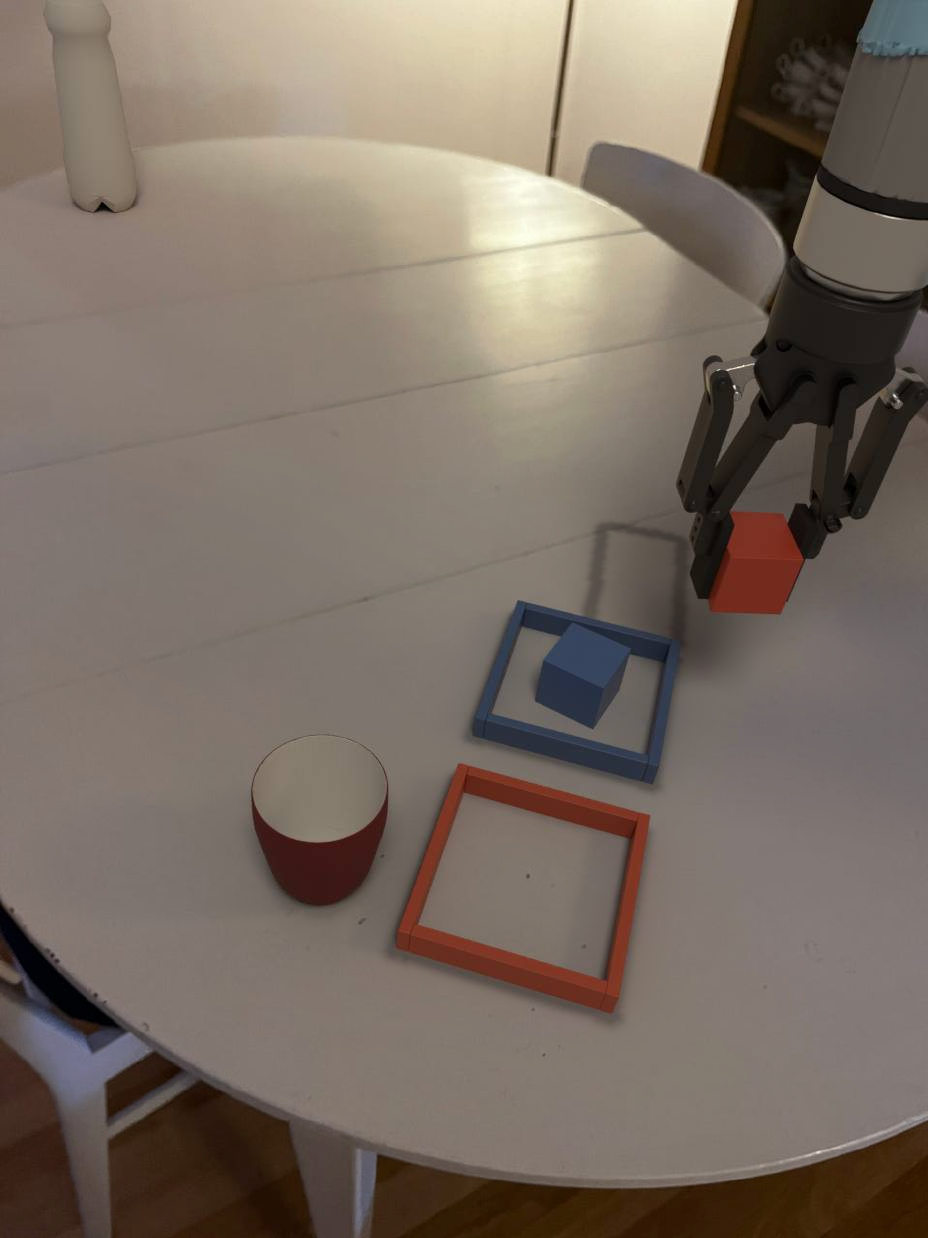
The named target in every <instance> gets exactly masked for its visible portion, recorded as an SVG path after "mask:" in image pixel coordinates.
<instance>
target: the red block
mask: <svg viewBox="0 0 928 1238" xmlns="http://www.w3.org/2000/svg"><path fill="white" fill-rule="evenodd" d="M729 512H730V514H731V517H732V519H733V522H734V524H735V526H734V529H733V532H732V534H731V537H730V540H729V543H728V546H727V547H726V550H725V553H724V556H723V559H722V562H721V564H720V567H719V570H718V573H717V576H716V579H715V581H714V584H713V587H712V590H711V593H710V596H709V598H708V599H706V602H707V604H708V608H709V611H710V613H721V614H722V613H723V614H724V613H725V614H752V615H782V612H783V610H784V607H785V605H786V603H787V602H786V601H787V598H788V596H789V594H790V591H791V589H792V587H793V584H794V582H795V580H796V577H797V575H798V573H799V570H800V568H801V566H802V563H803V561H804V559H803V557H802V555H801V552H800V550H799V549H798V546H797V544H796V542H795V540H794V538H793V535H792V533H791V531H790V529H789V527H788V521H787V519H786V517H785V515H784V513H783V512H763V511H741V510H739V511H738V510H730V511H729Z"/></svg>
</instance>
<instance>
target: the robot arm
mask: <svg viewBox="0 0 928 1238" xmlns="http://www.w3.org/2000/svg"><path fill="white" fill-rule="evenodd" d="M856 43H857V46H856V48H855V53H854V55H853V59H852V62H851V65H850V69H849V72H848V75H847V77H846V78H847V79H846V81H845V85H844V88H843V91H842V95H841V97H840V101H839V104H838V107H837V110H836V113H835V118H834V120H833V122H832V126H831V130H830V132H829V136H828V139H827V143H826V145H825V149H824V152H823V155H822V159H821V160H820V163H819V167H818V170H817V173H816V174H815V176H814V178H813V182H812V185H811V188H810V192H809V195H808V198H807V201H806V204H805V207H804V210H803V213H802V217H801V219H800V222H799V225H798V228H797V231H796V234H795V238H794V241H793V247H792V249H793V251H794V253H795V254H794V255H793V256H792V257H790V258H789V259H788V260H787V261H786V265H785V266H784V271H783V273H782V276H781V279H780V283H779V286H778V288H777V292H776V294H775V298H774V301H773V304H772V307H771V309H770V313H769V317H768V322H767V327H766V331H765V333H764V334H763V336H762V337H761V339H760V340H759V341H758V342H757V343H756V344H755V345H754V346H753V347H752V349H751V351H750V353H749V355H747V356H744V357H743V356H742V357H739V358H735V359H730V360H726V361H724V360H723V358H722V357H721V356H720V355H717V354H716V355H715V354H713V355H710V356H708V357H706V358H705V359H704V361H703V362H702V373H703V374H702V377H703V387H704V391H703V395H702V398H701V401H700V403H699V407H698V410H697V413H696V417H695V420H694V423H693V426H692V430H691V433H690V436H689V440H688V442H687V447H686V449H685V453H684V455H683V459H682V463H681V465H680V468H679V471H678V475H677V478H676V481H675V488H676V490H677V493H678V495H679V496H678V497H679V498H680V501H681V503H682V508H683V509H684V512H686V513H690V514H693V513H695V517H694V519H693V523H692V525H691V529H690V533H689V536H688V538H689V543H690V545H691V548H692V551H693V554H694V558H693V561H692V564H691V567H690V569H689V576H690V580H691V583H692V586H693V588H694V592H695V595H696V598H697V600H707V599H708V598H709V596H710V593H711V590H712V587H713V584H714V581H715V579H716V576H717V573H718V570H719V567H720V564H721V562H722V559H723V556H724V553H725V550H726V547H727V546H728V543H729V540H730V537H731V534H732V532H733V529H734V526H735V524H734V522H733V519H732V517H731V514H730V512H729V511H732V508H733V507H734V505H735V504H736V502H737V501H738V500H739V498H740V497H741V495H742V493H743V492H744V491H745V489H746V488H747V486H748V484H749V483H750V481H751V480H752V478H753V477H754V476H755V474H756V472H757V471H758V469H759V468H760V466H761V465H762V463H763V462H764V460H765V459H766V457H767V456H768V455H769V454H770V452H771V450H772V448H773V447H774V446H775V444H776V443H777V442H778V441H782V440H783V439H785V437H786V436H787V434H788V433H789V431H790V430H791V429H792V427H793V425H800V424H806V423H810V424H814V425H816V427H815V438H814V446H813V448H814V449H813V457H812V467H811V478H810V486H809V497H808V500H809V503H810V505H809V506H808V503H805V502H804V503H802V502H795V503H794V506H793V509H792V511H791V514H790V516H789V518H788V521H787V524H788V527H789V529H790V531H791V533H792V535H793V538H794V540H795V542H796V544H797V546H798V549H799V550H800V552H801V555H802V557H803V559H804V561H803V563H802V566H801V568H800V570H799V573H798V575H797V577H796V580H795V582H794V584H793V587H792V589H791V591H790V594H789V596H788V598H787V601H786V603H788V601H789V600H790V597H791V595H792V593H793V590H794V587H795V585H796V584H797V581H798V578H799V576H800V574H801V571H802V569H803V567H804V565H805V562H806V560H815V559H816V558H817V557H818V556H819V555H820V553H821V551H822V548H823V545H824V543H825V542H826V539H827V537H828V535H834V534H837V533H838V532H840V531H841V529H842V528H843V523H842V521H841V520H842V519H845V518H848V517H849V518H850V519H852V520H855V521H858V520H862V519H864V518H865V517H867V516H868V514H869V512H870V510H871V508H872V506H873V504H874V502H875V499H876V496H877V494H878V492H879V490H880V487H881V486H882V484H883V481H884V480H885V476H886V474H887V472H888V470H889V469H890V466H891V463H892V462H893V459H894V457H895V455H896V452H897V450H898V448H899V445H900V443H901V441H902V439H903V437H904V434H905V432H906V430H907V428H908V425H909V423H910V422H911V421H912V420H913V418H914V417H915V416H916V415H917V414H918V413H919V411H921V409H922V408H923V407H924V405H926V404H927V402H928V386H927V384H926V383H925V381H924V380H923V379H922V377H921V376H920V375H919V373H918V372H917V370H916V369H915V368H914V367H912V366H905V367H902V368H899V367H897V364H896V356H897V355H898V354H899V353H900V351H902V349H903V347H904V345H905V343H906V341H907V338H908V335H909V334H910V331H911V329H912V327H913V324H914V322H915V319H916V317H917V315H918V312H919V310H920V308H921V305H922V303H923V300H924V291H923V288H925V287H926V286H928V0H873V1H872V3H871V6H870V8H869V11H868V14H867V16H866V19H865V22H864V24H863V27H862V28H861V29H860V30H859V32H858V34H857V38H856ZM753 379H755V381H756V384H757V386H758V389H759V390H758V392H757V393H756V395H755V396H754V398H753V399H752V401H751V403H750V406H749V413H748V415H747V417H746V418H745V420H744V422H743V423H742V425H741V426H740V428H738V431H737V432H736V434H735V436H734V437H733V439H732V440H731V442H730V443H729V445H728V446H727V448H726V450H725V452H724V453H723V455H722V456H721V458H720V460H719V457H720V454H721V452H722V449H723V446H724V443H725V440H726V437H727V433H728V432H729V428H730V425H731V423H732V419H733V415H734V410H735V402H737V401H740V400H741V399H742V397H743V393H744V391H745V388H746V385H747V384H748V382H750V381H751V380H753ZM877 394H878V397H877V398H876V400H875V402H874V404H873V406H872V409H871V411H870V413H869V416H868V417H867V420H866V423H865V425H864V428H863V430H862V432H861V436H860V437H859V440H858V442H857V444H856V448H855V449H854V451H853V454H852V457H851V459H850V462H849V464H848V466H847V460H848V450H849V443H850V441H851V440H853V438H854V431H855V424H856V423H855V422H856V415H857V410H858V409H859V408H861V407H862V405H864V404H866V403H867V402H868V401H869V400H870V399H872V398H873V397H874V396H876V395H877ZM846 466H847V469H846Z"/></svg>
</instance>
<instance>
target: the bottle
mask: <svg viewBox="0 0 928 1238" xmlns="http://www.w3.org/2000/svg"><path fill="white" fill-rule="evenodd" d="M42 17H43V19H44V22H45V24H46V28H47V30H48V31H49V33H50V35H51V36H52V52H51V53H52V55H51V57H52V65H53V72H54V79H55V89H56V97H57V105H58V111H59V120H60V126H61V127H60V128H61V136H62V143H63V152H62V159H63V165H64V169H65V175H66V180H67V184H68V188H69V195H70V197H71V198H72V200H73V201H74V202H75V203H76V204H77V205H78V207H79V208H81V209H82V210H84V211H85V212H90V213H94V212H95V211H97V210H98V209H99V208H100V205H102V204H101V203H103V204H104V205H106V207H107V208H109V209H110V210H111V211H112V212H113V213H120V212H125V211H127V210H128V209H130V208H131V207H132V205H133V203H134V201H135V199H136V195H137V187H138V186H137V185H138V180H137V170H136V161H135V157H134V155H133V154H134V153H133V151H132V148H131V144H130V138H129V133H128V127H127V122H126V121H127V120H126V115H125V111H124V104H123V99H122V94H121V92H122V91H121V87H120V82H119V75H118V70H117V64H116V58H115V55H114V53H113V50H112V49H113V48H112V46H111V43H110V40H109V34H110V33H111V29H112V16H111V15H110V13H109V11H108V9H107V7H106V5H105V3H104V1H103V0H46V1H45V5H44V9H43V11H42Z"/></svg>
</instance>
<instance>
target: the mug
mask: <svg viewBox="0 0 928 1238" xmlns="http://www.w3.org/2000/svg"><path fill="white" fill-rule="evenodd" d="M250 794H251V796H250V798H251V799H250V800H251V817H252V822H253V828H254V831H255V834H256V837H257V840H258V842H259V845H260V848H261V850H262V853H263V855H264V857H265V860H266V862H267V865H268V867H269V869H270V872H271V874H272V876H273V877H274V879H275V881H276V882H277V884H278V885H279V886H280V887H281V889H282V890H283V891H285V892H286V893H287V894H288V895H290V896H291V897H292V898H294V899H296V900H298V901H300V902H302V903H304V904H307V905H310V906H311V905H312V906H328V905H332V904H336V903H338V902H340V901H341V900H344V899H345V898H347V897H348V896H350V895H351V894H352V893H354V892H355V891H356V890H357V889H358V888H359V887H360V886H361V885H362V883H363V882H364V881H365V879H366V878H367V876H368V874H369V872H370V870H371V868H372V865H373V863H374V860H375V857H376V855H377V852H378V849H379V846H380V843H381V842H382V837H383V835H384V832H385V829H386V828H385V827H386V824H387V819H388V813H389V811H388V810H389V781H388V776H387V772H386V770H385V768H384V766H383V764H382V763H381V761H380V760H379V758H378V757H377V756H376V755H375V754H374V752H372V751H371V750H370V749H368V748H367V747H366V746H364V745H363V744H361V743H359V742H357V741H355V740H353V739H351V738H347V737H343V736H340V735H335V734H311V735H305V736H300V737H297V738H294V739H291V740H289V741H287V742H284V743H283V744H280V745H279V746H278V747H276V748H274V749H273V750H272V751H271V752H270V753H268V754H267V755H266V756H265V758H264V759H262V761H261V762H260V764H259V765H258V767H257V768H256V770H255V772H254V775H253V778H252V783H251V789H250Z"/></svg>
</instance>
